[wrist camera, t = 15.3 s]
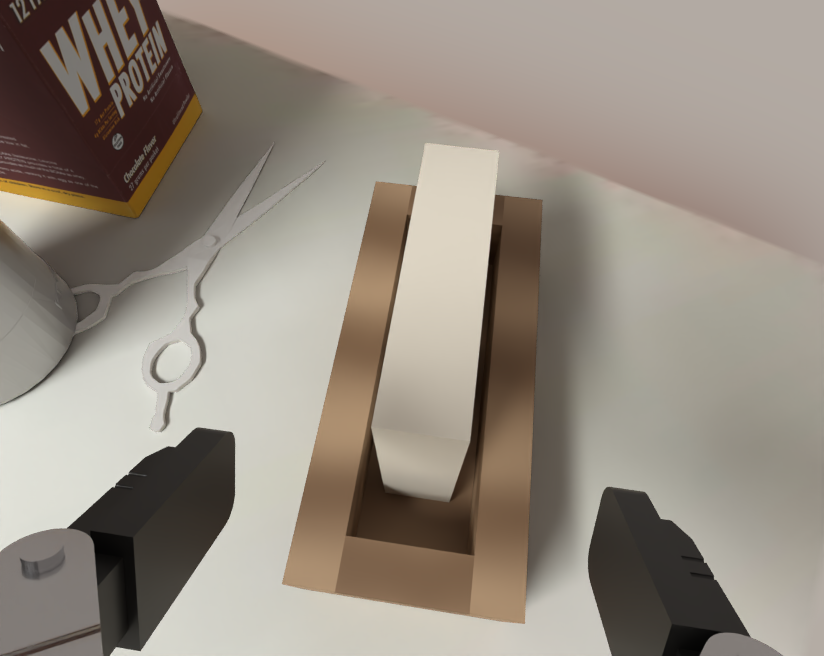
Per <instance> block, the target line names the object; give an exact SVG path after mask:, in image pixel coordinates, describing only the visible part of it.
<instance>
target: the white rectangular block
mask: <svg viewBox="0 0 824 656" xmlns="http://www.w3.org/2000/svg"><path fill="white" fill-rule="evenodd" d="M498 159H499V151H495V150H486V149H477V148H468V147H458V146H449V145H440V144H431V143H425V147H424V152H423V157H422V162H421V168H420V173H419V178H418V183H417V189H416V194H415V199H414V204H413V210H412V215H411V220H410V225H409V231H408V236H407V241H406V247H405V252H404V257H403V262H402V268H401V273H400V278H399V283H398V289H397V294H396V299H395V304H394V310H393V315H392V320H391V325H390V331H389V336H388V341H387V346H386V352H385V357H384V362H383V367H382V373H381V378H380V383H379V389H378V394H377V399H376V404H375V410H374V415H373V420H372V425H371V429H372V433H373V438H374V443H375V447H376V452H377V457H378V461H379V466H380V471H381V475H382V480H383V485H384V489H385V493H391V494H397V495H404V496H410V497H417V498H423V499H430V500H436V501H443V502H449V501H450V499H451V496H452V493H453V490H454V487H455V484H456V481H457V478H458V475H459V472H460V470H461V467H462V464H463V461H464V458H465V455H466V452H467V449H468V446H469V443H470V438H471V428H472V418H473V408H474V398H475V388H476V378H477V368H478V358H479V348H480V338H481V328H482V318H483V308H484V298H485V288H486V278H487V268H488V258H489V249H490V239H491V229H492V219H493V209H494V199H495V189H496V179H497V169H498Z"/></svg>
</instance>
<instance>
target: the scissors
mask: <svg viewBox="0 0 824 656" xmlns="http://www.w3.org/2000/svg"><path fill="white" fill-rule="evenodd" d="M274 143H275V142H274ZM274 143H273V144H272V146H271V147H270V148H269V149H268V151H267V152H266V153H265V155H264V156H263V157H262V158H261V160H260V161H259V162H258V164H257V165H256V166H255V167H254V169H253V170H252V171H251V173H250V174H249V175H248V176H247V178H246V179H245V180H244V181H243V183H242V184H241V185H240V187H239V188H238V189H237V191H236V192H235V193H234V195H233V196H232V197H231V199H230V200H229V201H228V203H227V204H226V205H225V207H224V208H223V210H222V211H221V212H220V214H219V215H218V217H217V218H216V219H215V221H214V222H213V224H212V225H211V226H210V228H209V229H208V231H207V232H206V233H205V235H204V236H203V237H202V238H200V239H198V240H196V241H194V242H193V243H192V244H190V245H189V246H188V247H186V248H185V249H183V250H182V251H181V252H179V253H178V254H177V255H175V256H174V257H172V258H170V259H169V260H167V261H166V262H164V263H162V264H161V265H160V266H158V267H157V268H155V269H151V270H148V271H134V272H133V273H132V274H131V275H129V276H128V277H127V278H126V279H124V280H123V281H122V282H121V283H119V284H106V285H101V284H86V285H82V286H78V287H74V288H71V291H72V292H73V295H77V294H81V293H86V292H93V293H95V294H97V295H99V296H100V301H99V304H98V306H97V309H96V310H95V311H94V312H93V313H91V314H90V315H89V316H88V317H86V318H85V319H84V320H82V321H81V322H79V323H77V324H76V329H75V334H78V333H80V332H82V331H85V330H87V329H90V328H92V327H93V326H95V325H96V324H98V323H99V322H101V321H102V320H104V319H106V316H107V313H108V310H109V307H110V304H111V301H112V297H115V296H117V295H119V294H120V293H122V292H123V291H124V290H125V289H126V288H127V287H129V286H130V285H132V284H135V283H138V282H141V281H143V280H147V279H150V278H153V277H157V276H161V275H168V274H174V273H177V272H181V271H184V270H187V307H186V310H185V313H184V317H183V318H182V319H181V321H180V322H179V323H178V324H177V326H176V327H175V328H174V330H173V331H172V332H171V333H170V334H168V335H166V336H165V337H162V338H160V339H158V340H155V341H153V342H151V343H149V345H148V347H147V349H146V351H145V354H144V356H143V360H142V375H143V380H144V382H145V383H146V384H147V386H148V387H149V388H151V389H152V390H154V391H156V392H157V402H156V411H155V415H154V416H153V418H152V421H151V424H150V427H149V429H151V430H152V431H154V432H162V430H163V429H164V428H165V426H166V422H165V415H166V410H167V406H168V403H169V397H170V393H174V392H178V391H180V390H181V389H182V388H183V387H185V386H186V385H187V384H188V383H190V382H191V381H192V380H193V378H194V377H195V375H196V373H197V372H198V370H199V369H200V367H201V365H202V353H201V348H200V345H199V343H198V341H197V340H196V339H195V337H194V336H193V335H192V325H191V320H192V318H193V317H194V316H195V314H196V313H197V312H198V311H199V309H200V308H199V305H198V303H197V301H196V286H197V285H198V283H199V282H200V280H201V279H202V277H203V276H204V274H205V273H206V271H207V269H208V268H209V266H210V265H211V263H212V261H213V260H214V258H215V256H216V255H217V253H218V252H219V250H220V248H222V247H223V246H224V245H226V244H227V243H228V242H229V241H231V240H232V239H233V238H235V237H236V236H237V235H239V234H240V233H241V232H242V231H244V230H245V229H246V228H248V227H249V226H250V225H252V224H253V223H254V222H255V221H257V220H258V219H259V218H260V217H262V216H263V215H264V214H265V213H267V212H268V211H269V210H270V209H271V208H273V207H274V206H275V205H276V204H277V203H278V202H280V201H281V200H282V199H283V198H284V197H285V196H287V195H288V194H289V193H290V192H291V191H293V190H294V189H295V188H296V187H297V186H299V185H300V184H301V183H302V182H304V181H305V180H306V179H307V178H308V177H310V176H311V175H312V174H313V173H314V172H315V171H316V170H317V169H318V168H319V167H320V166H321V165H322V164H323V163H324V162H323V163H322V164H320V165H318V166H317V167H315V168H314V169H312V170H311V171H309V172H307V173H306V174H304V175H303V176H301V177H299V178H298V179H296V180H295V181H293V182H292V183H290V184H288V185H287V186H285V187H284V188H282V189H281V190H279V191H278V192H276V193H275V194H273V195H272V196H270V197H269V198H267V199H266V200H264V201H263V202H261V203H259V204H258V205H256V206H254V207H253V208H251V209H250V210H248V211H246V212H245V213H243V214H242V215H240V216H239V217H238V218H237V216H238V214H239V212H240V210H241V208H242V206H243V204H244V202H245V200H246V198H247V197H248V195H249V193H250V191H251V189H252V187H253V185H254V183H255V181H256V179H257V177H258V175H259V173H260V171H261V169H262V167H263V165H264V163H265V161H266V159H267V157H268V155H269V153H270V151H271V149H272V147H273V145H274ZM236 218H237V219H236ZM75 334H74V335H75ZM178 342H183V343H184V344H186V345H187V346H189V347H190V348H191V361H190V364H189V366H188V367H187V369H186V370H185V372H184V373H183V374H182V375H181V376H180V377H179V378H178V379H177V380H176V381H173V382H169V383H159V382H157V381H156V380H155V379H154V378H153V376H152V368H153V364H154V361H155V360H156V358H157V357H158V355H159V354H160V353H161V352H162V351H163V350H164V349H165V348H166V347H167V346H168V345H171V344H174V343H178Z"/></svg>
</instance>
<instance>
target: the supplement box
mask: <svg viewBox="0 0 824 656" xmlns="http://www.w3.org/2000/svg"><path fill="white" fill-rule="evenodd" d="M201 113H202V108H201V105H200V103H199V101H198V98H197V96H196V94H195V92H194V90H193V87H192V85H191V83H190V80H189V78H188V75H187V73H186V71H185V68H184V66H183V64H182V61H181V58H180V56H179V54H178V51H177V49H176V47H175V44H174V42H173V39H172V37H171V34H170V32H169V30H168V27H167V25H166V22H165V20H164V17H163V15H162V13H161V10H160V8H159V6H158V3H157V1H156V0H0V191H4V192H9V193H14V194H18V195H23V196H28V197H33V198H38V199H43V200H48V201H53V202H58V203H63V204H68V205H73V206H77V207H82V208H87V209H92V210H97V211H102V212H107V213H112V214H117V215H121V216H126V217H131V218H138V217H139V216H140V214H141V212H142V211H143V209H144V207H145V206H146V204H147V202H148V201H149V199H150V197H151V196H152V194H153V192H154V191H155V189H156V187H157V186H158V184H159V183H160V181H161V179H162V178H163V176H164V174H165V173H166V171H167V169H168V168H169V166H170V164H171V163H172V161H173V159H174V158H175V156H176V155H177V153H178V151H179V149H180V148H181V146H182V144H183V143H184V141H185V139H186V138H187V136H188V134H189V133H190V131H191V129H192V128H193V126H194V124H195V123H196V121H197V119H198V118H199V116H200V114H201Z"/></svg>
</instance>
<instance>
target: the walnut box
mask: <svg viewBox="0 0 824 656" xmlns="http://www.w3.org/2000/svg"><path fill="white" fill-rule="evenodd" d="M416 189H417V186H412V185H403V184H394V183H385V182H376V184H375V188H374V192H373V196H372V201H371V205H370V209H369V214H368V218H367V222H366V226H365V231H364V235H363V239H362V244H361V248H360V252H359V256H358V261H357V265H356V269H355V274H354V278H353V282H352V286H351V291H350V295H349V299H348V304H347V308H346V312H345V316H344V321H343V325H342V329H341V334H340V338H339V342H338V346H337V351H336V355H335V359H334V364H333V368H332V372H331V376H330V381H329V385H328V389H327V394H326V398H325V402H324V406H323V411H322V415H321V419H320V423H319V428H318V432H317V436H316V441H315V445H314V449H313V453H312V458H311V462H310V466H309V471H308V475H307V479H306V483H305V488H304V492H303V496H302V501H301V505H300V509H299V513H298V518H297V522H296V526H295V531H294V535H293V539H292V543H291V548H290V552H289V556H288V561H287V565H286V569H285V573H284V578H283V582H282V584H284V585H289V586H293V587H297V588H302V589H307V590H313V591H319V592H325V593H331V594H337V595H344V596H350V597H356V598H362V599H368V600H374V601H380V602H386V603H392V604H399V605H405V606H411V607H417V608H423V609H429V610H435V611H441V612H447V613H453V614H460V615H466V616H472V617H478V618H484V619H490V620H496V621H502V622H512V623H522V624H525V605H526V581H527V557H528V533H529V509H530V486H531V462H532V438H533V414H534V390H535V366H536V342H537V318H538V294H539V270H540V246H541V222H542V200H537V199H528V198H519V197H510V196H501V195H495V199H494V209H493V219H492V229H491V239H490V249H489V258H488V268H487V278H486V288H485V298H484V308H483V318H482V328H481V338H480V348H479V358H478V368H477V378H476V388H475V398H474V408H473V418H472V428H471V438H470V443H469V446H468V449H467V452H466V455H465V458H464V461H463V464H462V467H461V470H460V472H459V475H458V478H457V481H456V484H455V487H454V490H453V493H452V496H451V499H450V501H449V502H443V501H436V500H430V499H423V498H417V497H410V496H404V495H397V494H391V493H385V489H384V485H383V480H382V475H381V471H380V466H379V461H378V457H377V452H376V447H375V443H374V438H373V433H372V429H371V425H372V420H373V415H374V410H375V404H376V399H377V394H378V389H379V383H380V378H381V373H382V367H383V362H384V357H385V352H386V346H387V341H388V336H389V331H390V325H391V320H392V315H393V310H394V304H395V299H396V294H397V289H398V283H399V278H400V273H401V268H402V262H403V257H404V252H405V247H406V241H407V236H408V231H409V225H410V220H411V215H412V210H413V204H414V199H415V194H416Z"/></svg>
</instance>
